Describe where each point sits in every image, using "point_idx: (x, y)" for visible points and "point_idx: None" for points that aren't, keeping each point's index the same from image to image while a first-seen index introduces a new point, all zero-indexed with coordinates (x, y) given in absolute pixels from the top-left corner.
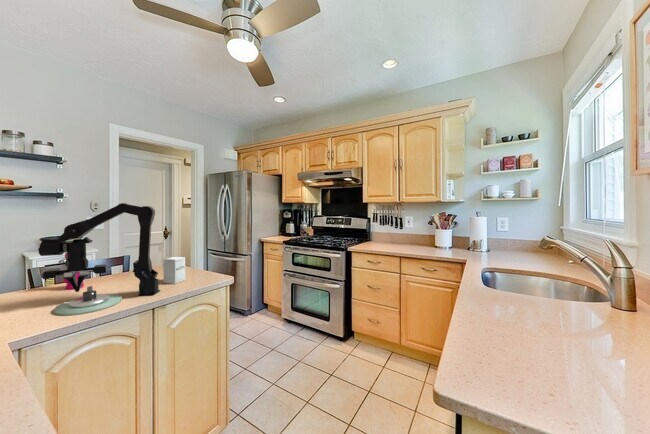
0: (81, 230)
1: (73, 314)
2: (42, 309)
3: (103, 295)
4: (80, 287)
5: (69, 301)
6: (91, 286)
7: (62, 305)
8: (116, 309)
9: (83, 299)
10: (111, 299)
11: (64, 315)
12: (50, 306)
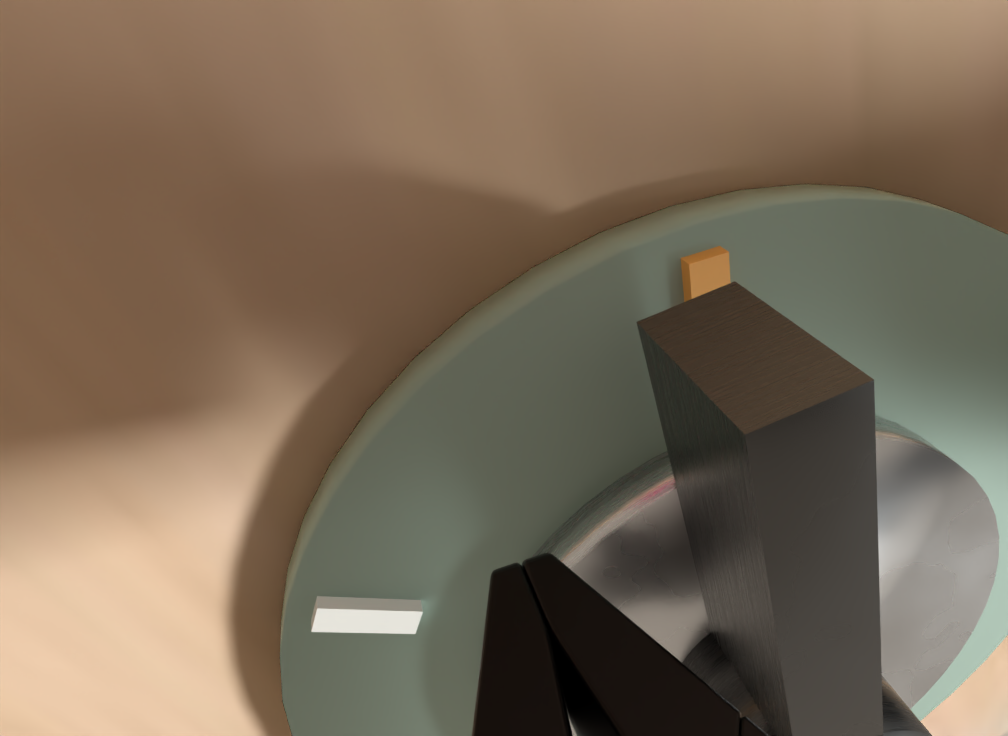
0: None
1: None
2: (20, 670)
3: (928, 523)
4: (621, 624)
5: (364, 531)
6: (854, 435)
7: (362, 690)
8: (956, 727)
9: None
10: None
11: None
12: (41, 556)
